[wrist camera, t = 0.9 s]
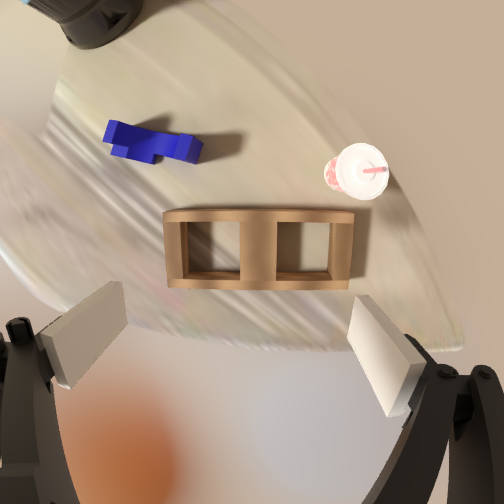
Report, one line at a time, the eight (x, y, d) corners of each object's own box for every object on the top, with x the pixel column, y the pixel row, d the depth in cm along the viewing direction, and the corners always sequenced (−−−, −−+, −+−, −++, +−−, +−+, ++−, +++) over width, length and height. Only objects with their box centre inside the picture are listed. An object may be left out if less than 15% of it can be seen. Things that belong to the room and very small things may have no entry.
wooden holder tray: (175, 278, 38) (167, 287, 35) (171, 209, 36) (162, 212, 33) (341, 280, 38) (348, 289, 34) (346, 211, 35) (354, 213, 32)
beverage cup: (309, 171, 34) (338, 162, 21) (341, 143, 33) (384, 122, 20) (338, 205, 35) (381, 218, 22) (368, 177, 34) (423, 176, 21)
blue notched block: (120, 156, 35) (99, 152, 29) (129, 127, 34) (109, 119, 28) (193, 175, 35) (180, 173, 29) (203, 143, 34) (192, 136, 28)
